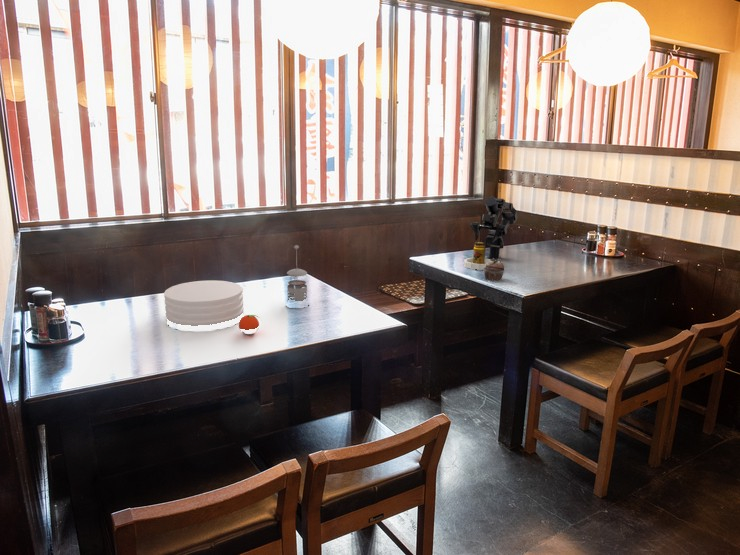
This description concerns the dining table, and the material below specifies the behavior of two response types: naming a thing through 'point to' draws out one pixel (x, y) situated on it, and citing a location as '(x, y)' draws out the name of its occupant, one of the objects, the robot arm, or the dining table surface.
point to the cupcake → (494, 270)
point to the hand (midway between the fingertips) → (483, 241)
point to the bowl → (475, 266)
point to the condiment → (479, 253)
